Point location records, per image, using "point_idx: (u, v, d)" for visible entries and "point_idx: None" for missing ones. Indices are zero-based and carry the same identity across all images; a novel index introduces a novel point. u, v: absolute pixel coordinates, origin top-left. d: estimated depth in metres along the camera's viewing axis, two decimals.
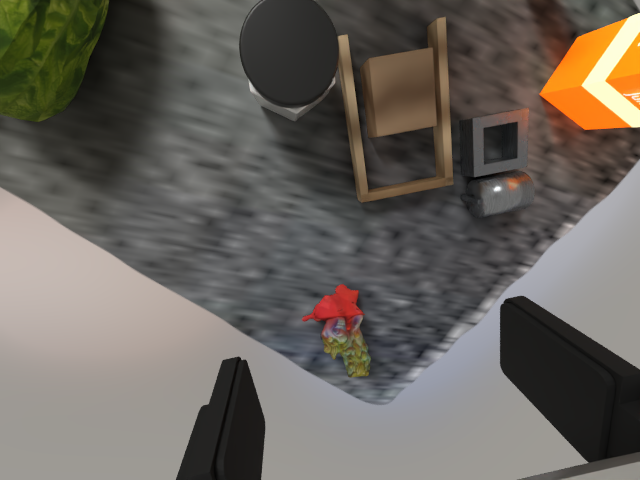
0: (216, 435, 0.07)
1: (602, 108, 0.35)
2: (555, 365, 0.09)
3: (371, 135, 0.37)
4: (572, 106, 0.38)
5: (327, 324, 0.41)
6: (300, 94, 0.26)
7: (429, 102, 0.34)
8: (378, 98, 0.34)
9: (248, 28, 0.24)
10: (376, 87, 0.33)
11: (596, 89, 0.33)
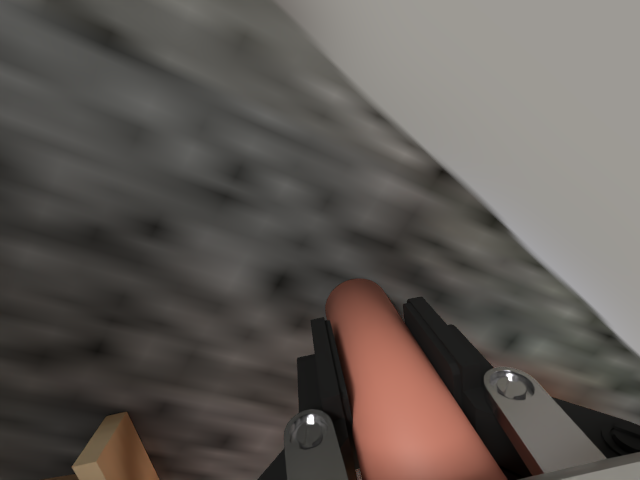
0: (332, 371, 0.09)
1: None
2: (431, 358, 0.10)
3: None
4: None
5: None
6: None
7: None
8: None
9: None
10: None
11: None
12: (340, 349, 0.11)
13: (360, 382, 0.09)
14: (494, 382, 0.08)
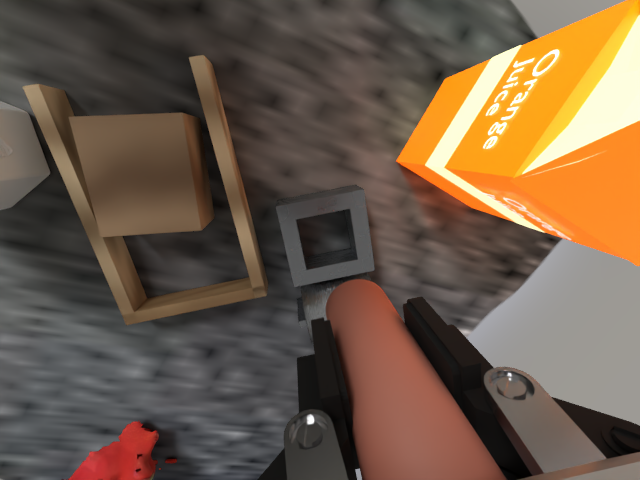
0: (332, 371, 0.09)
1: (469, 194, 0.23)
2: (431, 358, 0.10)
3: None
4: (437, 182, 0.25)
5: None
6: None
7: (185, 195, 0.22)
8: (94, 180, 0.21)
9: None
10: (88, 163, 0.20)
11: (445, 174, 0.20)
12: (340, 349, 0.11)
13: (360, 383, 0.09)
14: (494, 382, 0.08)
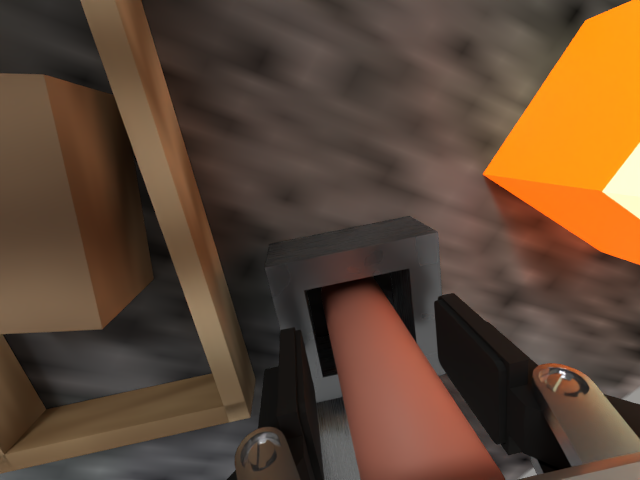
0: (293, 386, 0.08)
1: None
2: (469, 355, 0.09)
3: None
4: (569, 215, 0.14)
5: None
6: None
7: (64, 259, 0.10)
8: None
9: None
10: None
11: None
12: (333, 325, 0.12)
13: (348, 349, 0.10)
14: (545, 377, 0.08)
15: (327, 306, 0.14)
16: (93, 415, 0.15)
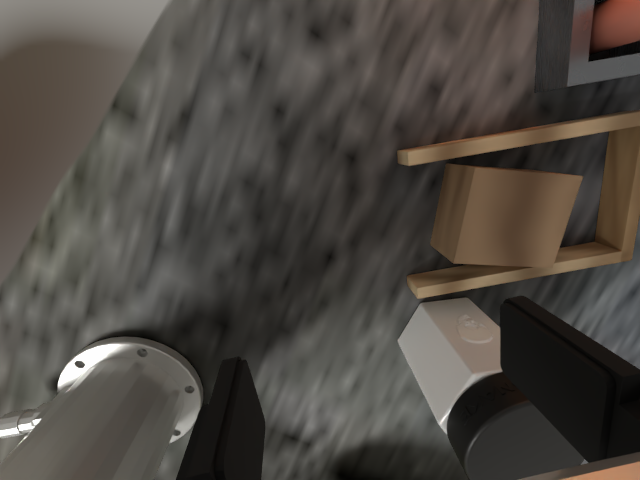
0: (216, 435, 0.07)
1: None
2: (555, 365, 0.09)
3: None
4: None
5: None
6: None
7: (545, 183, 0.21)
8: (506, 258, 0.23)
9: None
10: (491, 259, 0.23)
11: None
12: (621, 40, 0.19)
13: None
14: None
15: (598, 48, 0.21)
16: (612, 210, 0.26)
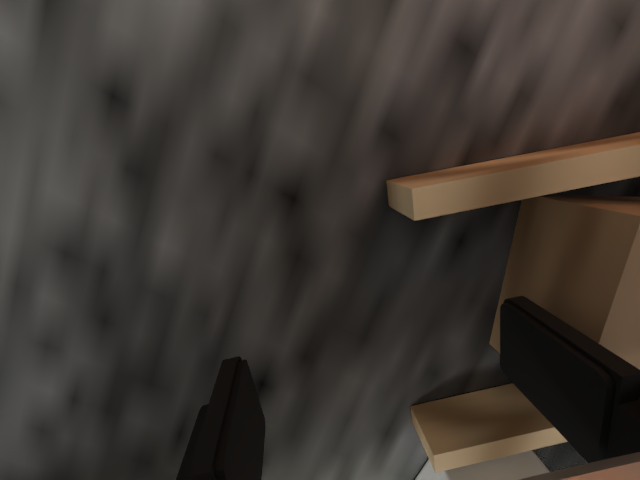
0: (216, 435, 0.07)
1: None
2: (555, 365, 0.09)
3: None
4: None
5: None
6: None
7: None
8: None
9: None
10: None
11: None
12: None
13: None
14: None
15: None
16: None
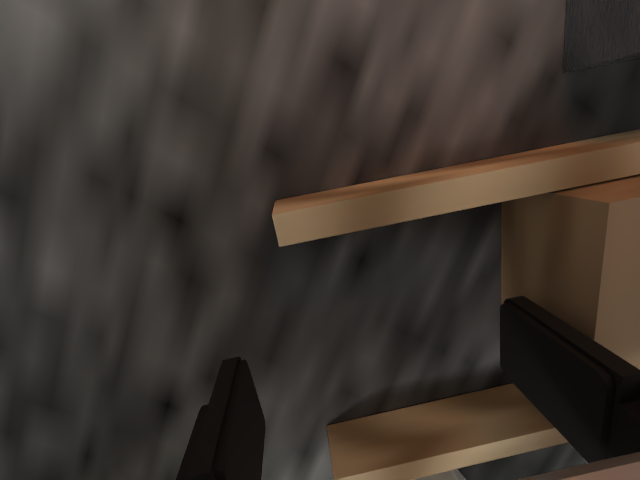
0: (216, 435, 0.07)
1: None
2: (555, 365, 0.09)
3: None
4: None
5: None
6: None
7: None
8: None
9: None
10: None
11: None
12: None
13: None
14: None
15: None
16: None
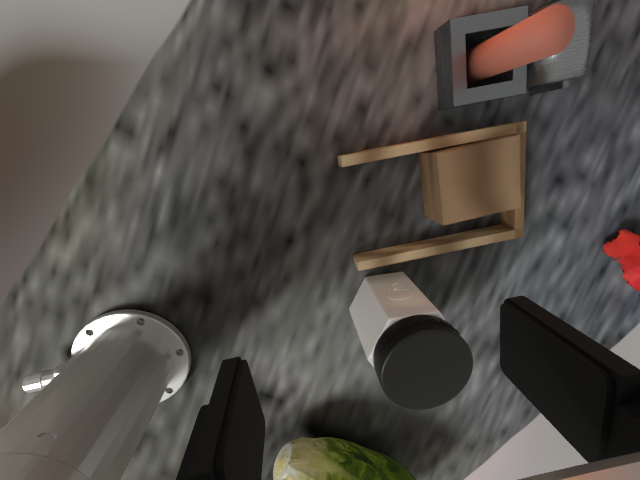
0: (216, 435, 0.07)
1: None
2: (555, 365, 0.09)
3: None
4: None
5: None
6: (465, 362, 0.26)
7: (493, 148, 0.28)
8: (482, 210, 0.30)
9: (408, 404, 0.26)
10: (471, 214, 0.30)
11: None
12: (486, 74, 0.27)
13: (497, 65, 0.25)
14: None
15: (476, 78, 0.29)
16: None
